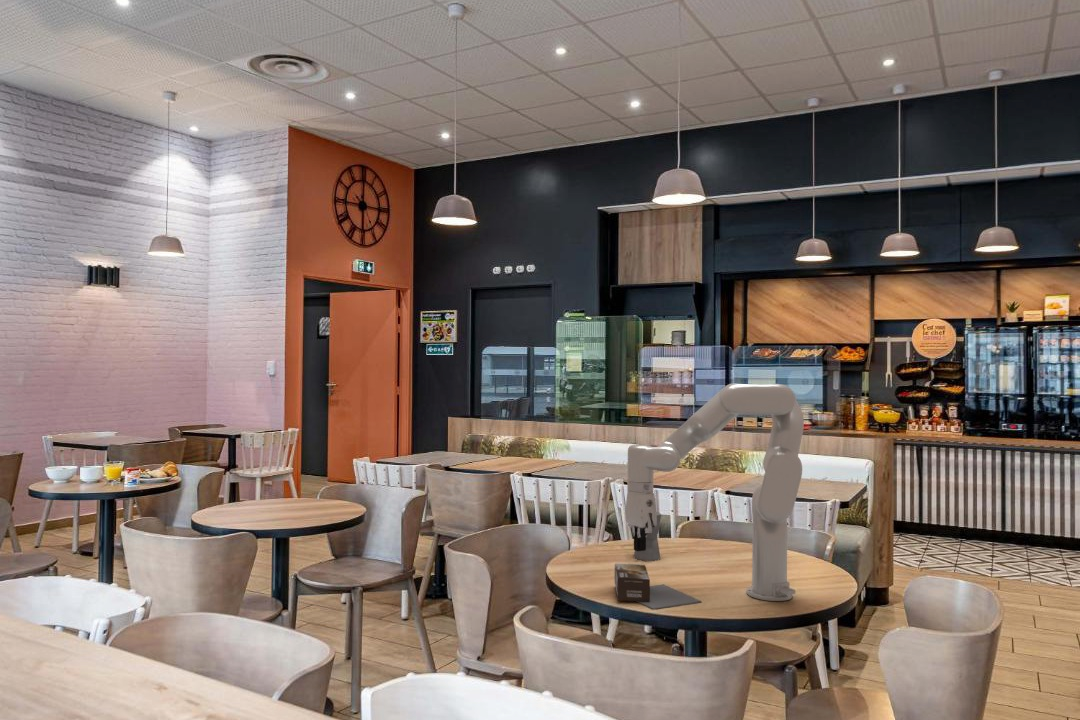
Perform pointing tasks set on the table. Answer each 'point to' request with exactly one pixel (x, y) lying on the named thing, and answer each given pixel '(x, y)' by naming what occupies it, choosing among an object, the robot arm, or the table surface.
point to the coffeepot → (650, 545)
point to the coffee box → (632, 582)
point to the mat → (667, 598)
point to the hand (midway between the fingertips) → (639, 550)
